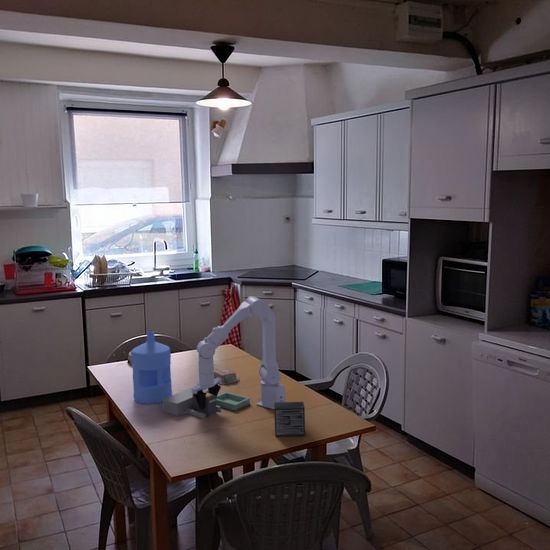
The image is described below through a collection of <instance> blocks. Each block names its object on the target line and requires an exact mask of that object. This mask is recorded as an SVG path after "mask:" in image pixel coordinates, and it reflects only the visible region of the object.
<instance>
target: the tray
mask: <svg viewBox="0 0 550 550" xmlns="http://www.w3.org/2000/svg"><path fill="white" fill-rule="evenodd" d="M250 404H251V398H250V397H248V396H243V395H240V394H236V393H232V392H227V391H225V392H223V393H220V394H218V395H217V398H216V405H217V406H221V408H222V409H227V410H230V411H233V412H237V411H239V410H241V409H242V408H245V407H247V406H249V405H250Z"/></svg>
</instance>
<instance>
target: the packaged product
mask: <svg viewBox="0 0 550 550" xmlns="http://www.w3.org/2000/svg"><path fill="white" fill-rule="evenodd" d="M216 378H220V379H221V384H219V385H220V386H224V385H226V384H227V385H228V384H232V383H237V382H240V381H239V380H240V379H241V378H240V377H238V376H237V373H236V372H234V371H232V370H231V369H228V368H226V367H225V366H222V365H220V364H217V363H214V379H216ZM236 381H237V382H236Z"/></svg>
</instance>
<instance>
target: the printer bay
mask: <svg viewBox="0 0 550 550" xmlns="http://www.w3.org/2000/svg"><path fill="white" fill-rule="evenodd" d="M193 387H194V386H193ZM193 387H190V388H187V389H185V390H182V391H179V392H177V393H175V394H172V396H170V397H167V398H164V399H163V402H162V412H163V411H164V412H163V413H166V412H167V413H166V414H169V413H170V415H172V414H173V416H176V417H178V416H181V415H183V414H189V415H191V416H194V417H198V418H202V419H205V418H206V415H205V413H202V412H199V411H195V410H193V396H192V394H193V393H192V389H191V388H193ZM203 392H206V393H209V391H208V388H207V389H204V390H203ZM221 410H222V407H221V406H217V405H216V412H217V411H218V412H220V411H221Z"/></svg>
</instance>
